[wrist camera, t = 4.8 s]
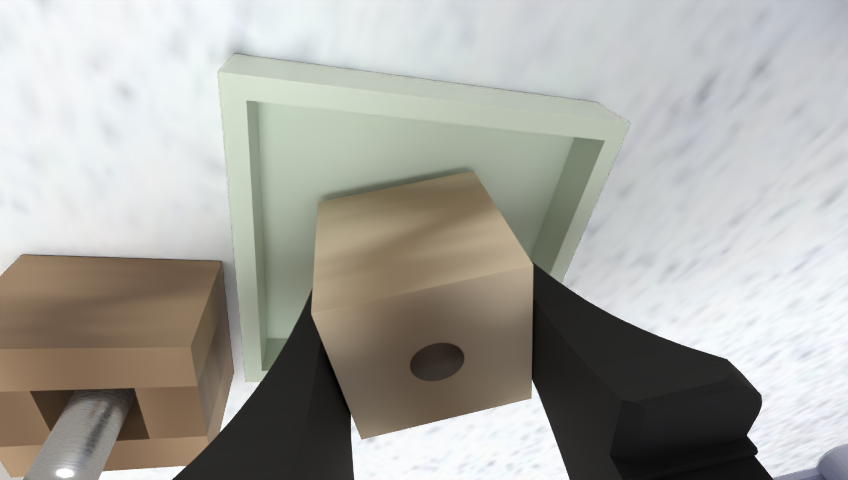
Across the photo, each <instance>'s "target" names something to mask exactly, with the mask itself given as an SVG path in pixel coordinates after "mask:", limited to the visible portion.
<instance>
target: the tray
mask: <svg viewBox="0 0 848 480" xmlns="http://www.w3.org/2000/svg"><path fill="white" fill-rule="evenodd" d="M218 83H219V94H220V105H221V116H222V127H223V138H224V149H225V160H226V171H227V182H228V194H229V205H230V216H231V227H232V238H233V249H234V260H235V271H236V282H237V293H238V304H239V316H240V327H241V338H242V349H243V360H244V371H245V382H261V381H262V380H263V378H264V377H265V375H266V374H267V372H268V371H269V369H270V368H271V366H272V365H273V363H274V362H275V360H276V358H277V357H278V355H279V353H280V351H281V350H282V348H283V346H284V345H285V343H286V341H287V339H288V338H289V336H290V334H291V332H292V330H293V328H294V326H295V324H296V322H297V320H298V318H299V316H300V314H301V312H302V310H303V308H304V306H305V303H306V301H307V299H308V296H309V294H310V292H311V289H312V287H313V274H314V257H315V240H316V223H317V206H318V202H323V201H328V200H333V199H338V198H343V197H348V196H352V195H357V194H362V193H367V192H372V191H377V190H382V189H387V188H391V187H396V186H401V185H406V184H411V183H416V182H421V181H426V180H431V179H435V178H440V177H445V176H450V175H455V174H460V173H465V172H470V171H474V172H475V174H476V175H477V177H478V178H479V180H480V181H481V183H482V185H483V186H484V188H485V189H486V191H487V193H488V194H489V196H490V197H491V199H492V200H493V202H494V204H495V205H496V207H497V208H498V210H499V211H500V213H501V215H502V216H503V218H504V219H505V221H506V222H507V224H508V226H509V227H510V229H511V230H512V232H513V234H514V235H515V237H516V238H517V240H518V241H519V243H520V245H521V246H522V248H523V249H524V251H525V252H526V254H527V256H528V257H529V259H530V260H531V261H533V262H534V263H535V264H536V265H537V266H539V267H540V268H541V269H543V270H544V271H545V272H546V273H548V274H549V275H550V276H552V277H553V278H554V279H556V280H557V281H558V282H560V283H562V280H563V278H564V276H565V273H566V271H567V269H568V266H569V264H570V262H571V260H572V257H573V255H574V253H575V250H576V248H577V246H578V244H579V241H580V239H581V237H582V234H583V232H584V230H585V227H586V225H587V223H588V221H589V218H590V216H591V214H592V211H593V209H594V207H595V204H596V202H597V200H598V198H599V195H600V193H601V191H602V188H603V186H604V184H605V182H606V179H607V177H608V175H609V172H610V170H611V168H612V165H613V163H614V161H615V159H616V156H617V154H618V152H619V149H620V147H621V145H622V142H623V140H624V138H625V136H626V133H627V131H628V129H629V126H630V124H631V123H630V122H628V121H627V120H625V119H624V118H622V117H620V116H619V115H617V114H616V113H614V112H612V111H611V110H609V109H607V108H606V107H604V106H603V105H601V104H599V103H598V102H591V101H584V100H576V99H569V98H561V97H554V96H546V95H539V94H532V93H524V92H517V91H509V90H502V89H494V88H487V87H479V86H472V85H464V84H457V83H450V82H442V81H435V80H427V79H420V78H412V77H405V76H397V75H390V74H382V73H375V72H368V71H360V70H353V69H345V68H338V67H330V66H323V65H315V64H308V63H300V62H293V61H286V60H278V59H271V58H263V57H256V56H248V55H241V54H233V55H232V56H231V58H230V59H229V60H228V61H227V62H226V63H225V64H224V65H223V66H222V67H221V68H220V70H219V71H218Z"/></svg>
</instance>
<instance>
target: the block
mask: <svg viewBox="0 0 848 480" xmlns="http://www.w3.org/2000/svg"><path fill="white" fill-rule="evenodd" d="M311 315H312V317H313V320H314V322H315V325H316V327H317V330H318V332H319V335H320V337H321V340H322V342H323V345H324V347H325V350H326V352H327V355H328V357H329V360H330V362H331V365H332V367H333V370H334V372H335V375H336V377H337V380H338V382H339V385H340V387H341V390H342V392H343V395H344V397H345V400H346V402H347V405H348V407H349V410H350V412H351V415H352V417H353V419H354V422H355V424H356V427H357V429H358V432H359V434H360V437H361V439H366V438H370V437H374V436H378V435H382V434H386V433H390V432H395V431H399V430H403V429H407V428H411V427H415V426H419V425H423V424H428V423H432V422H436V421H440V420H444V419H448V418H452V417H456V416H460V415H465V414H469V413H473V412H477V411H481V410H485V409H489V408H493V407H498V406H502V405H506V404H510V403H514V402H518V401H522V400H526V399H531V391H532V321H533V264H532V262H531V260H530V259H529V257H528V256H527V254H526V252H525V251H524V249H523V248H522V246H521V245H520V243H519V241H518V240H517V238H516V237H515V235H514V234H513V232H512V230H511V229H510V227H509V226H508V224H507V222H506V221H505V219H504V218H503V216H502V215H501V213H500V211H499V210H498V208H497V207H496V205H495V204H494V202H493V200H492V199H491V197H490V196H489V194H488V193H487V191H486V189H485V188H484V186H483V185H482V183H481V181H480V180H479V178H478V177H477V175H476V174H475V172H474V171H470V172H465V173H460V174H455V175H450V176H445V177H440V178H435V179H431V180H426V181H421V182H416V183H411V184H406V185H401V186H396V187H391V188H387V189H382V190H377V191H372V192H367V193H362V194H357V195H352V196H348V197H343V198H338V199H333V200H328V201H323V202H318V206H317V223H316V240H315V257H314V274H313V291H312V308H311Z"/></svg>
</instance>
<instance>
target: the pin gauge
mask: <svg viewBox="0 0 848 480" xmlns="http://www.w3.org/2000/svg"><path fill="white" fill-rule="evenodd" d="M135 396H136V392H135V389H134V388H115V389H80V390H75V391H74V393H73V395H72V397H71V398H70V400H69V402H68V403H67V405H66V407H65V409H64V410H63V412H62V414H61V415H60V417H59V419H58V421H57V422H56V424H55V426H54V427H53V429H52V431H51V433H50V434H49V436H48V438H47V439H46V441H45V443H44V444H43V446H42V448H41V450H40V451H39V453H38V455H37V456H36V458H35V460H34V462H33V463H32V465H31V467H30V468H29V470H28V472H27V474H26V475H25V477H24V479H23V480H98V479H99V477H100V475H101V472H102V470H103V468H104V466H105V463H106V461H107V459H108V457H109V454H110V452H111V450H112V448H113V445H114V443H115V441H116V439H117V436H118V434H119V432H120V430H121V427H122V425H123V423H124V421H125V418H126V416H127V414H128V412H129V409H130V407H131V405H132V403H133V400H134V398H135Z"/></svg>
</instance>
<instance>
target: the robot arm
mask: <svg viewBox="0 0 848 480" xmlns="http://www.w3.org/2000/svg"><path fill="white" fill-rule="evenodd" d="M531 262H532V264H533V321H532V380H533V383H534V385H535V387H536V389H537V391H538V394H539V396H540V399H541V401H542V404H543V407H544V409H545V412H546V415H547V417H548V420H549V422H550V425H551V428H552V431H553V433H554V436H555V439H556V442H557V444H558V447H559V450H560V453H561V456H562V458H563V461H564V464H565V467H566V470H567V473H568V476H569V479H570V480H848V444H845V445H841V446H838V447H835V448H833V449H831V450H829V451H828V452H826V453H825V454H824V455H823V456H822V457H821V458H820V459H819V461H818V463H817V466H816V467H815V468H811V469H807V470H803V471H798V472H794V473H790V474H786V475H782V476H778V477H774V478H772V477H771V476H770V475H769V473H768V472H767V471H766V470H765V468H764V467H763V466H762V465H761V463H760V462H759V461H758V460H757V459H756V457H755V456H754V455H756V454H757V453H758V450H757V447H756V446H755V445H754V444H753V443H752V441H751V440H750V439H749V438H748V437H747V434H748V432H749V430H750V428H751V427H752V425H753V423H754V421H755V420H756V418H757V416H758V414H759V412H760V409H761V406H762V397H761V394H760V393H759V392H758V391H757V390H756V389H755V388H754V386H753V385H752V384H751V383H750V382H749V381H748V380H747V379H746V378H745V376H744V375H743V374H742V373H741V372H740V371H739V370H738V369H737V368H736V367H735V366H734V365H733V364H732V363H730V362H729V361H728V360H727V359H724V358H721V357H718V356H715V355H712V354H708V353H705V352H702V351H699V350H696V349H692V348H689V347H686V346H683V345H681V344H678V343H675V342H673V341H670V340H667V339H665V338H662V337H659V336H657V335H655V334H652V333H650V332H647V331H645V330H643V329H640V328H638V327H636V326H634V325H632V324H630V323H627V322H625V321H623V320H621V319H619V318H617V317H615V316H613V315H611V314H609V313H608V312H606V311H604V310H602V309H600V308H599V307H597V306H595V305H593V304H591V303H590V302H588V301H586V300H585V299H583V298H582V297H580V296H579V295H577V294H576V293H574V292H573V291H571V290H570V289H568V288H567V287H565V286H564V285H562V284H561V283H560V282H558V281H557V280H556V279H554V278H553V277H552V276H550V275H549V274H548V273H546V272H545V271H544V270H543V269H541V268H540V267H539V266H537V265H536V264H535V263H534V262H533V261H531ZM312 291H313V287H312V289H311V292H310V294H309V296H308V299H307V301H306V303H305V306H304V308H303V310H302V312H301V314H300V316H299V318H298V320H297V322H296V324H295V326H294V328H293V330H292V332H291V334H290V336H289V338H288V339H287V341H286V343H285V345H284V346H283V348H282V350H281V351H280V353H279V355H278V357H277V358H276V360H275V362H274V363H273V365H272V366H271V368H270V369H269V371H268V372H267V374H266V375H265V377H264V378H263V380H262V381H261V383H260V384H259V385H258V387H257V388H256V390H255V391H254V392H253V394H252V395H251V396H250V397H249V399H248V400H247V401H246V403H245V404H244V405H243V406H242V408H241V409H240V410H239V411H238V413H237V414H236V415H235V416H234V417H233V419H232V420H231V421H230V422H229V423H228V424H227V426H226V427H225V428H224V429H223V430H222V431H221V432H220V433H219V434H218V435H217V436H216V437H215V439H214V440H213V441H212V442H211V443H210V444H209V445H208V446H207V447H206V448H205V449H204V450H203V451H202V452H201V453H200V454H199V455H198V456H197V457H196V458H195V459H194V460H193V461H192V462H191V463H190V464H188V465H187V466H186V467H185V468H184V469H183V470H182V471H181V472H180V473H179V474H178V475H177V476H176V477H174V478H173V479H172V480H354V473H353V459H352V445H351V412H350V410H349V407H348V405H347V402H346V400H345V397H344V395H343V392H342V390H341V387H340V385H339V382H338V380H337V377H336V375H335V372H334V370H333V367H332V365H331V362H330V360H329V357H328V355H327V352H326V350H325V347H324V345H323V342H322V340H321V337H320V335H319V332H318V330H317V327H316V325H315V322H314V320H313V317H312V315H311V308H312Z"/></svg>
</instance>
